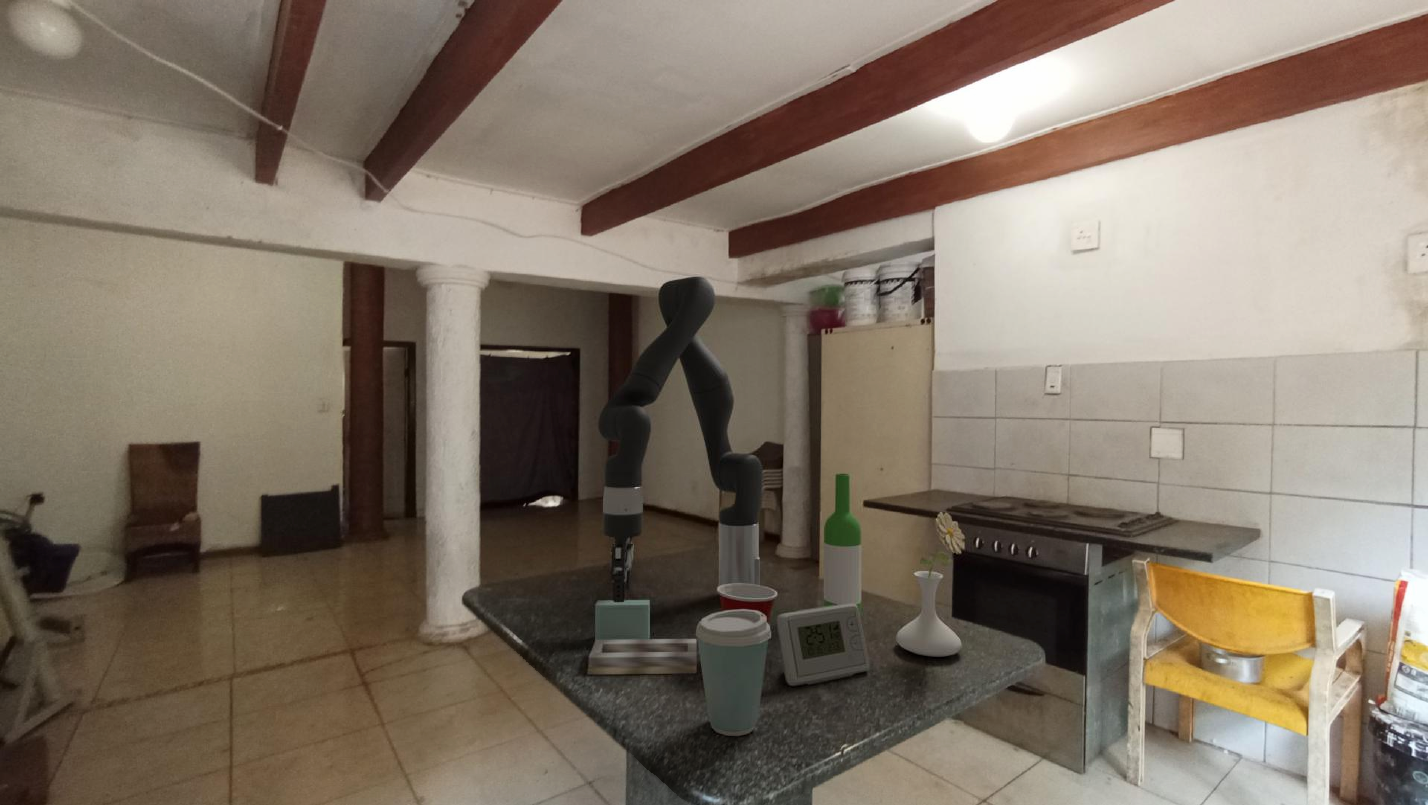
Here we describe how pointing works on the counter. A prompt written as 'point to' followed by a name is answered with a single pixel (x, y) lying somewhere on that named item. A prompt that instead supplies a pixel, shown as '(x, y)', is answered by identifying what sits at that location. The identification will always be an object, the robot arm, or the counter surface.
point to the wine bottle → (842, 550)
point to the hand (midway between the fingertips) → (621, 595)
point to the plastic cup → (747, 597)
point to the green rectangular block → (622, 620)
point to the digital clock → (822, 644)
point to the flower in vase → (933, 600)
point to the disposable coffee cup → (733, 667)
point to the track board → (643, 656)
